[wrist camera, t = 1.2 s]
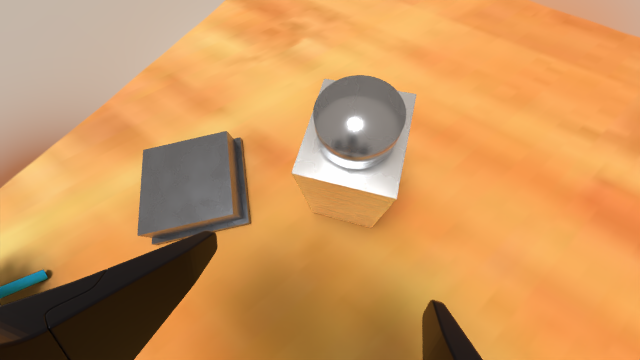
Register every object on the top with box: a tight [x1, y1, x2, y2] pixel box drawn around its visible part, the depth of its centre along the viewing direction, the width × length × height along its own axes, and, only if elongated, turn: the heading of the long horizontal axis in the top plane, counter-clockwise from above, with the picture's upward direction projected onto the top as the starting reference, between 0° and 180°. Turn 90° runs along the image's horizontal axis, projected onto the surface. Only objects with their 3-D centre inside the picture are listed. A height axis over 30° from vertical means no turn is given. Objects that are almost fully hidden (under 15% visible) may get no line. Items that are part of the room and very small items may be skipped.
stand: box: [138, 131, 251, 245], centre depth 24 cm, size 10×10×3 cm
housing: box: [292, 75, 416, 228], centre depth 18 cm, size 7×6×13 cm
